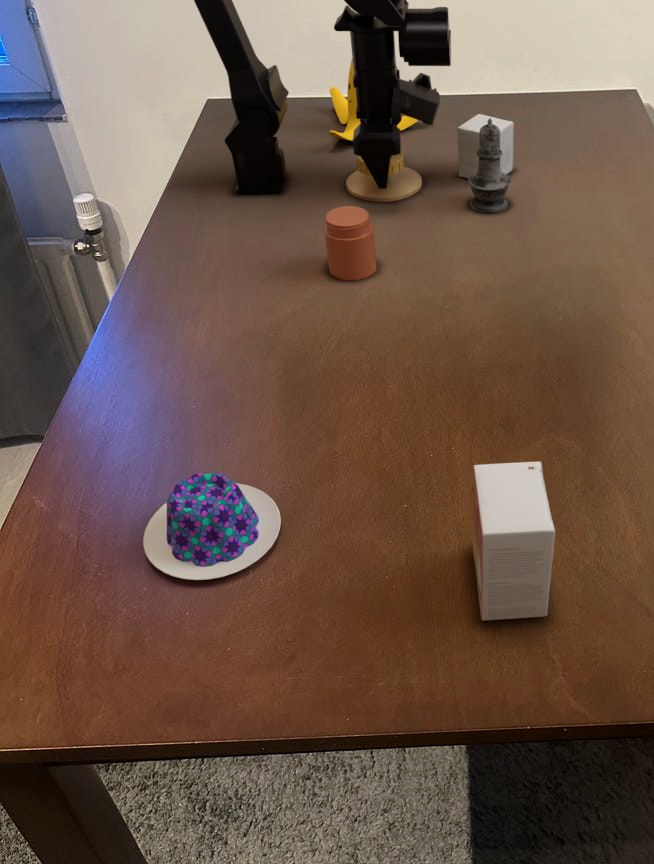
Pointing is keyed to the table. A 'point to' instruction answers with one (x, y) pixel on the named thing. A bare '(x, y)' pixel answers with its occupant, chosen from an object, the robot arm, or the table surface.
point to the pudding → (211, 528)
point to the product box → (470, 144)
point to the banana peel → (354, 110)
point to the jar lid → (394, 166)
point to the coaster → (396, 189)
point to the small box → (512, 540)
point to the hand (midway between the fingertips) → (383, 178)
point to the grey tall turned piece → (489, 173)
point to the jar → (350, 243)
